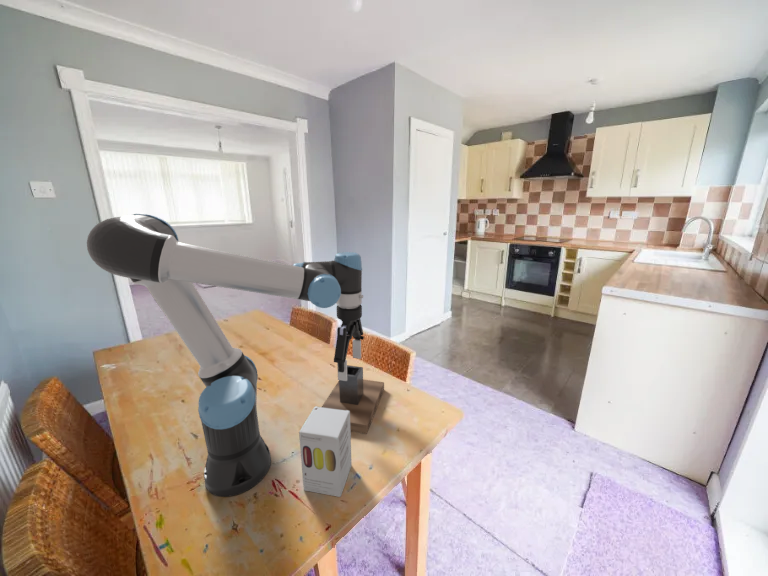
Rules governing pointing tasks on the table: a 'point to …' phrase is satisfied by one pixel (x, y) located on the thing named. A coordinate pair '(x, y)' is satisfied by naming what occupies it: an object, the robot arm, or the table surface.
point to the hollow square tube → (352, 386)
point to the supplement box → (326, 450)
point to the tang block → (361, 412)
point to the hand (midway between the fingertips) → (350, 368)
